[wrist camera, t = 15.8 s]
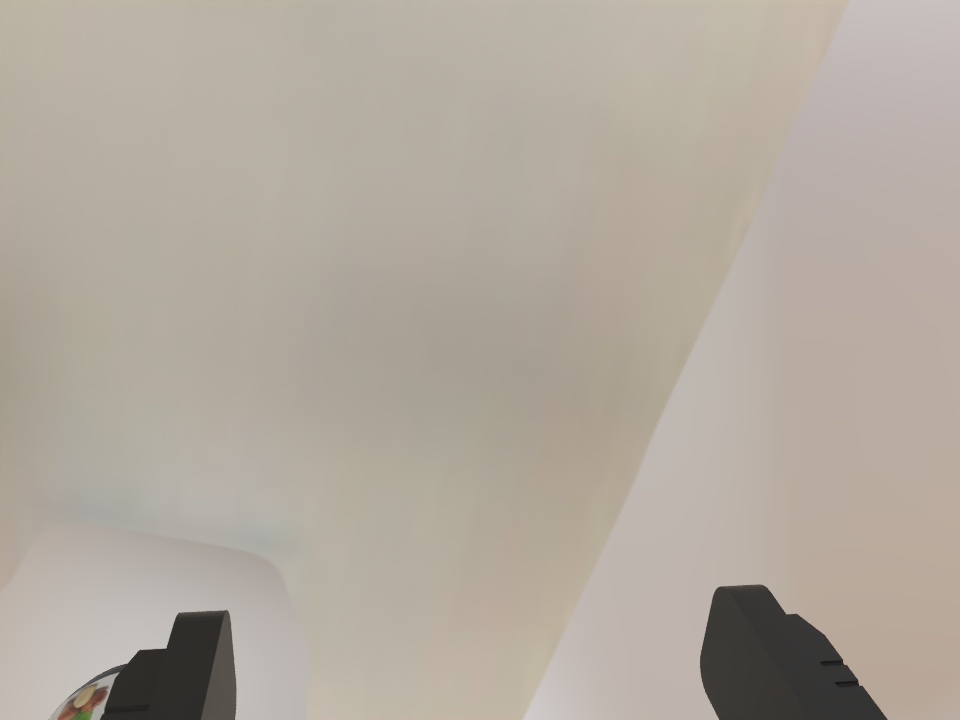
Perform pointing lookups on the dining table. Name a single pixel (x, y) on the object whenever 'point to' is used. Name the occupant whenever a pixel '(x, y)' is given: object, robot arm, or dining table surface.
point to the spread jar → (88, 698)
